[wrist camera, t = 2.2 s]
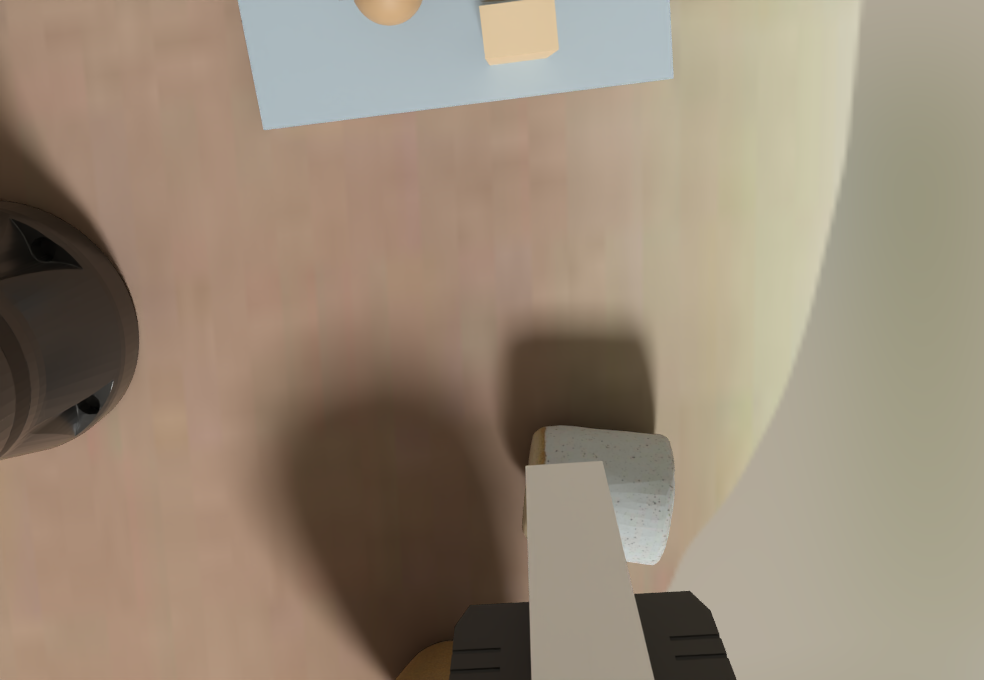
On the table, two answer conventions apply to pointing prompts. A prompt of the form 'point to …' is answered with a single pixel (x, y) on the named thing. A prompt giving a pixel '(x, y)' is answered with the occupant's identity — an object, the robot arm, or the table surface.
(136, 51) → the table surface
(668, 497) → the ceramic mug
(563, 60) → the base
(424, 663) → the plant pot
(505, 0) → the lever
